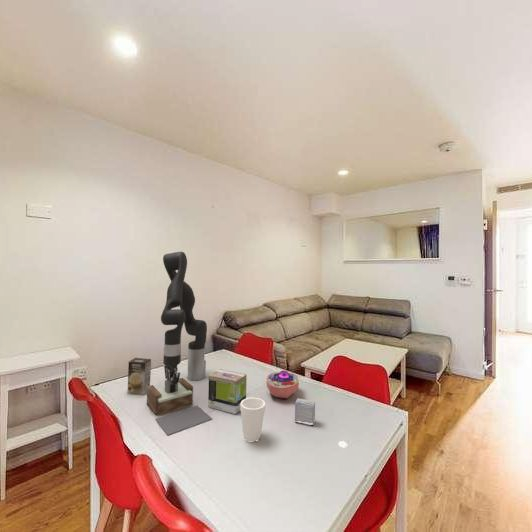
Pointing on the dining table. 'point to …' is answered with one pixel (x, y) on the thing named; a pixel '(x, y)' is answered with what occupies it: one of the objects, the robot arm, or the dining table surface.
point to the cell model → (282, 384)
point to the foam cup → (252, 417)
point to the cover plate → (178, 392)
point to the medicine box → (305, 410)
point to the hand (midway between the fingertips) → (171, 390)
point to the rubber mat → (182, 420)
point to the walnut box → (170, 404)
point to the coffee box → (139, 376)
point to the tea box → (226, 390)
